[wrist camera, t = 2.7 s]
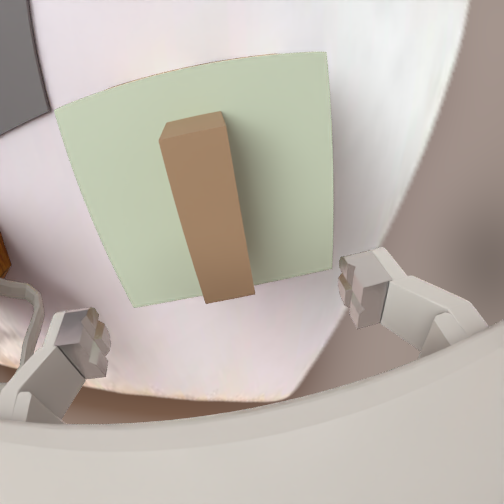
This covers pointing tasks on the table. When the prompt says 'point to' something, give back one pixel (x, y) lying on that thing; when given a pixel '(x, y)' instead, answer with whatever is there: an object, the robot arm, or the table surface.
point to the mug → (22, 291)
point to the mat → (19, 67)
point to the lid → (209, 175)
